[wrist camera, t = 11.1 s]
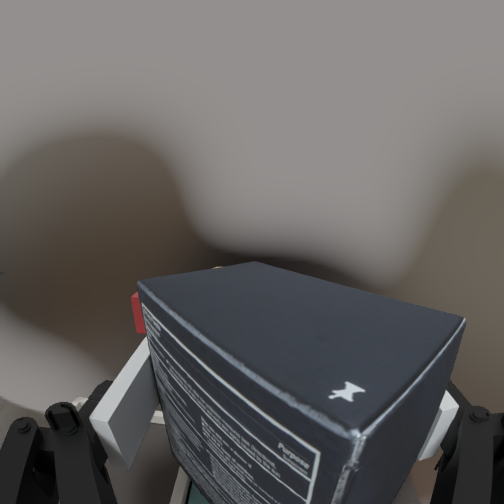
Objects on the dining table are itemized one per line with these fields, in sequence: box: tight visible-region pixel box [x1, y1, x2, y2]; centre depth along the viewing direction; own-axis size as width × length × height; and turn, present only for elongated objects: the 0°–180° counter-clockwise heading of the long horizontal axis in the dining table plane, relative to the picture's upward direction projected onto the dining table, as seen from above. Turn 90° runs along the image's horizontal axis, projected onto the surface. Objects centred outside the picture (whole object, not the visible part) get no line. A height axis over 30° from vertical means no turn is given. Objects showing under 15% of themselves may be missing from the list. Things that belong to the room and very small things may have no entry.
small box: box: [137, 262, 466, 504], centre depth 10 cm, size 11×6×10 cm, turn 37°
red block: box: [131, 291, 146, 334], centre depth 34 cm, size 4×4×5 cm
